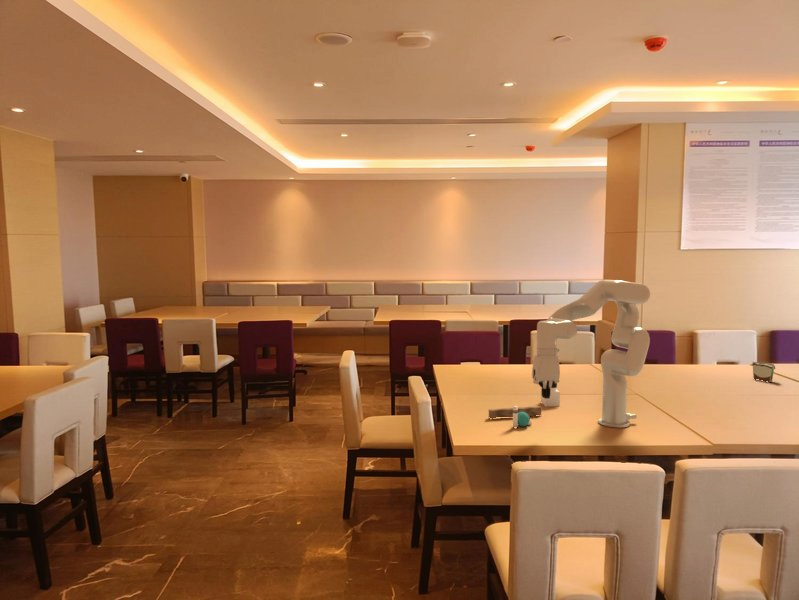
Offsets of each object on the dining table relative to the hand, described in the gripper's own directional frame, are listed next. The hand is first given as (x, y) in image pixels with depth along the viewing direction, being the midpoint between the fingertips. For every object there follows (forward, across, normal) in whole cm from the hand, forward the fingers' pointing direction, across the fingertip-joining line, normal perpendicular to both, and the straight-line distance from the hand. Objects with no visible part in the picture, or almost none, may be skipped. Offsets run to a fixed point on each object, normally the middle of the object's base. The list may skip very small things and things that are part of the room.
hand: (545, 397), depth 216 cm
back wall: (+15, +2, -25) cm, 29 cm away
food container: (+15, -164, -59) cm, 175 cm away
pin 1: (+15, +8, -11) cm, 20 cm away
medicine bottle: (+15, -23, -41) cm, 49 cm away
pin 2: (+14, +1, -12) cm, 19 cm away
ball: (+12, +4, -12) cm, 18 cm away
